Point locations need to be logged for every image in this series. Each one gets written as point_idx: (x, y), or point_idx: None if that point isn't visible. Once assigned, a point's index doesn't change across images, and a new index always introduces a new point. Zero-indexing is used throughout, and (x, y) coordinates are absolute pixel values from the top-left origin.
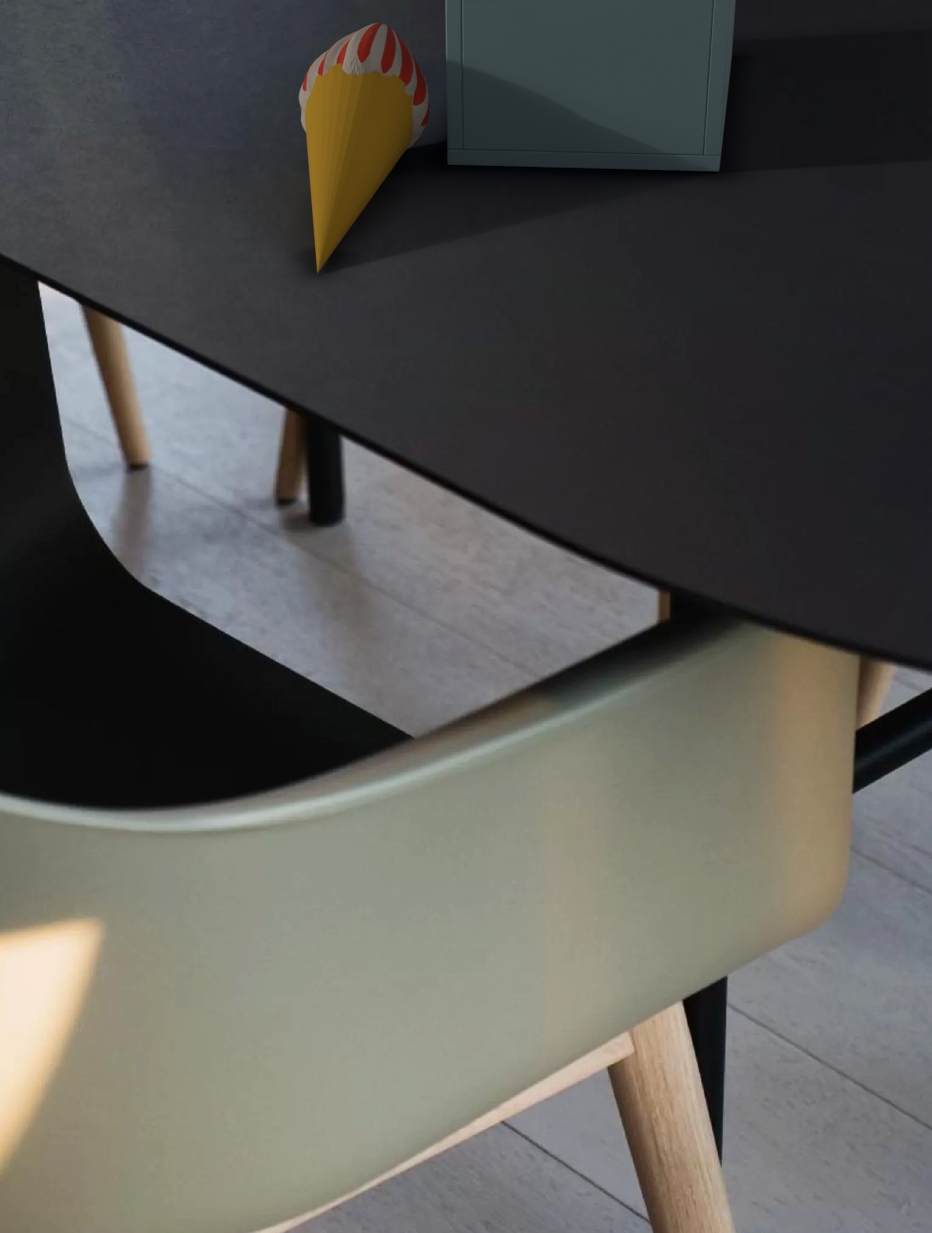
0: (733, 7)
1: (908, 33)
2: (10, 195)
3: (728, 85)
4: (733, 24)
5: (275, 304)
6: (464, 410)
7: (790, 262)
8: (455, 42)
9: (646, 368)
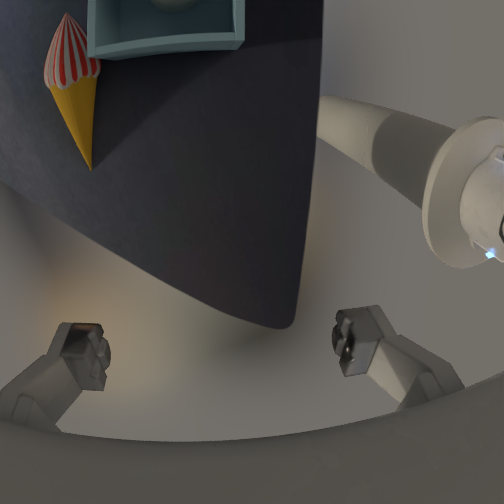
0: None
1: None
2: None
3: None
4: None
5: (86, 197)
6: (168, 255)
7: (269, 134)
8: (101, 57)
9: (221, 222)
